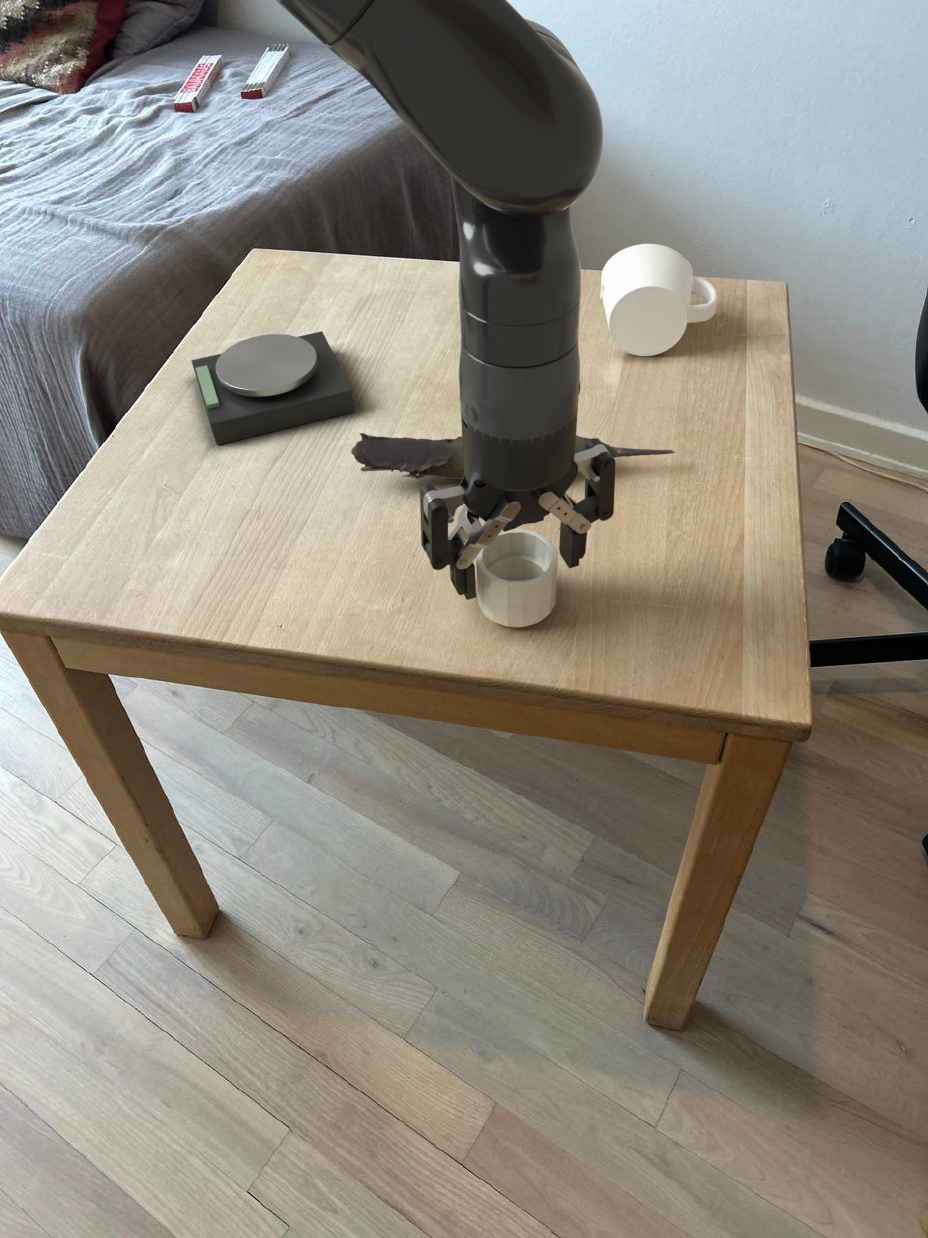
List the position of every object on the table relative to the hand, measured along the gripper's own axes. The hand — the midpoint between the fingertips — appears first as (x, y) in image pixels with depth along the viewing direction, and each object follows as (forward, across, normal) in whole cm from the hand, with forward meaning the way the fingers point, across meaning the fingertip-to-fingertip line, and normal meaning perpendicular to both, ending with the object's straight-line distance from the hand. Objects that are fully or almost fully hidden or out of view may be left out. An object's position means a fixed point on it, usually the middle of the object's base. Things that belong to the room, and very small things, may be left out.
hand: (518, 575), depth 68 cm
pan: (0, +12, -36) cm, 38 cm away
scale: (+3, +12, -36) cm, 38 cm away
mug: (+3, -29, -31) cm, 42 cm away
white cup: (+3, 0, 0) cm, 3 cm away
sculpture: (+3, -6, -15) cm, 16 cm away
